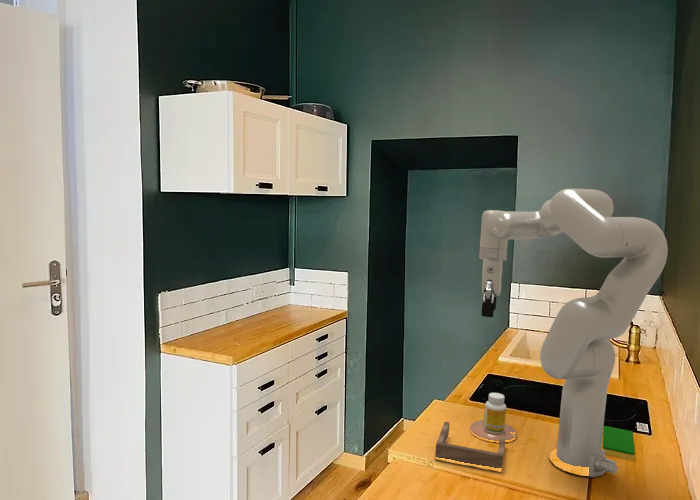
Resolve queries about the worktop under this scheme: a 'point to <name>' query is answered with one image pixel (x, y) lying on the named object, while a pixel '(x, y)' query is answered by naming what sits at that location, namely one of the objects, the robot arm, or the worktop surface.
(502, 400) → the supplement bottle
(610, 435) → the dish sponge
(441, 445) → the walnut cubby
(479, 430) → the terracotta coaster
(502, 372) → the worktop surface
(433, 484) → the worktop surface
